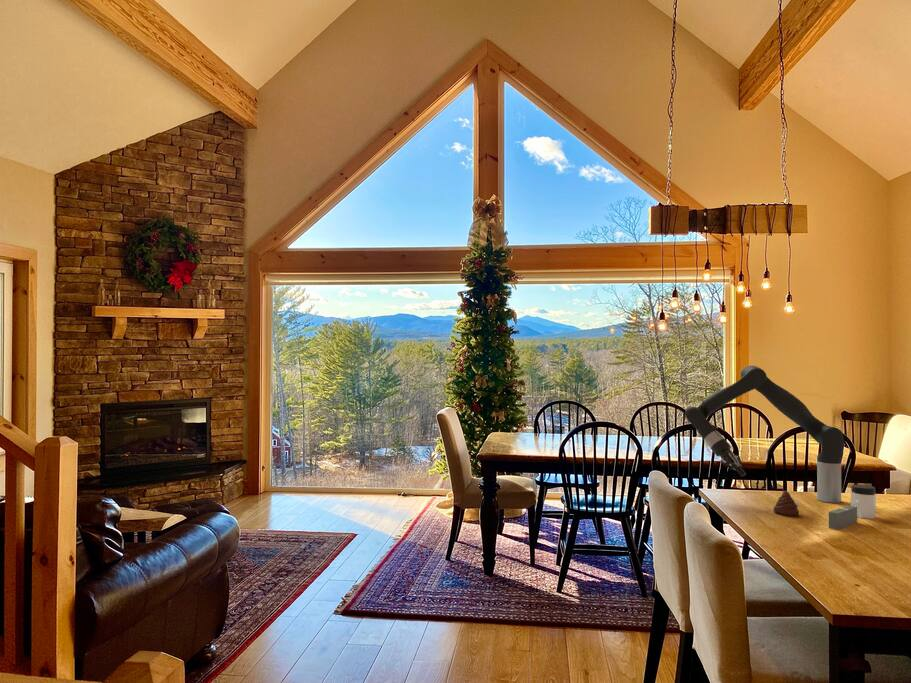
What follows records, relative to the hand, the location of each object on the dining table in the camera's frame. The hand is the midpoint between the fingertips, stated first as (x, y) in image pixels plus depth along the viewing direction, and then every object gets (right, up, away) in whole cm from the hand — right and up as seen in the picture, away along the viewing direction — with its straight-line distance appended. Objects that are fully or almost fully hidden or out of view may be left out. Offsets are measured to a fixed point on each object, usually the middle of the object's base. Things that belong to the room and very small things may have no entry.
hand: (743, 475), depth 270 cm
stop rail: (+23, -12, -31) cm, 41 cm away
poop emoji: (+11, -13, -15) cm, 22 cm away
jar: (+40, -13, -17) cm, 46 cm away
